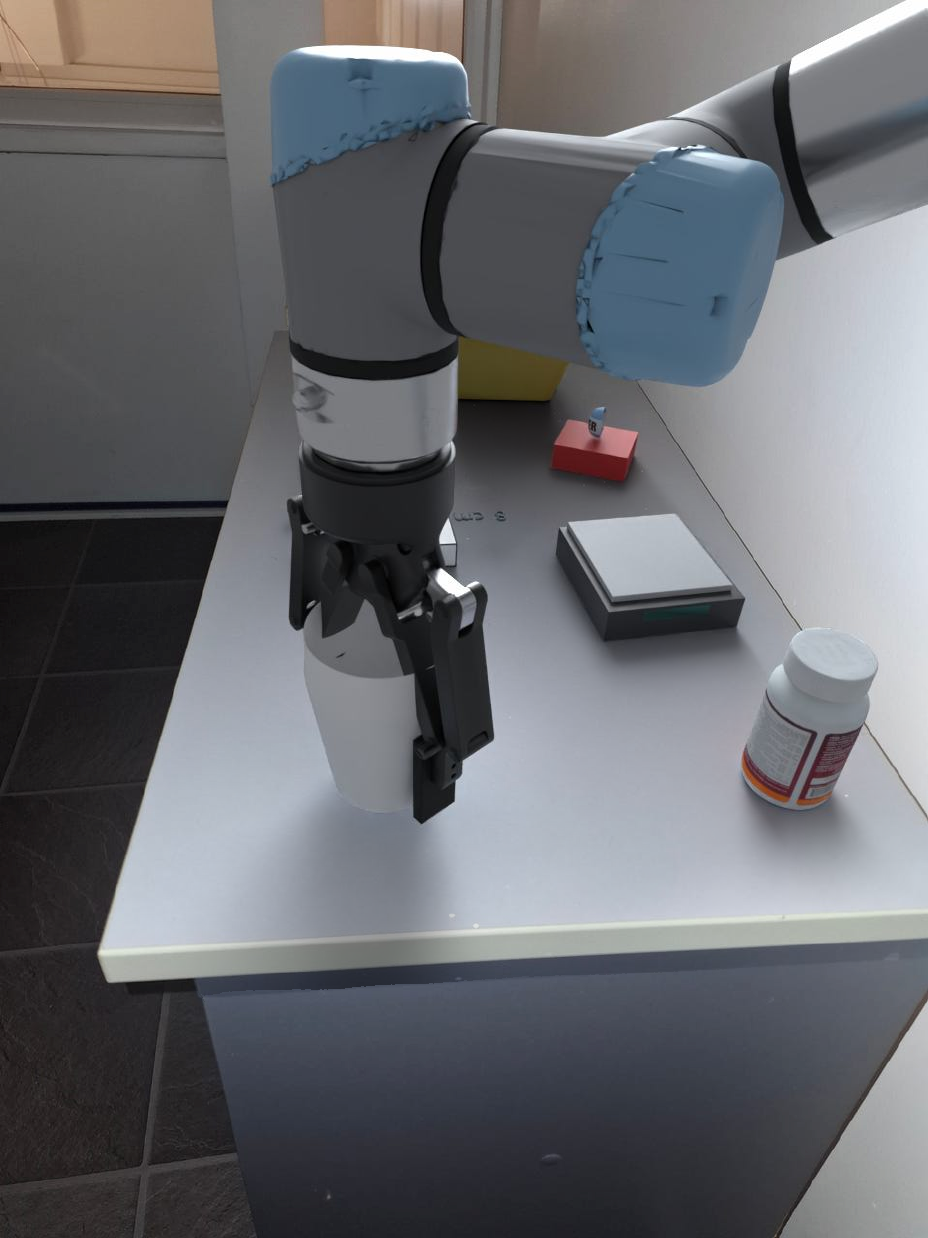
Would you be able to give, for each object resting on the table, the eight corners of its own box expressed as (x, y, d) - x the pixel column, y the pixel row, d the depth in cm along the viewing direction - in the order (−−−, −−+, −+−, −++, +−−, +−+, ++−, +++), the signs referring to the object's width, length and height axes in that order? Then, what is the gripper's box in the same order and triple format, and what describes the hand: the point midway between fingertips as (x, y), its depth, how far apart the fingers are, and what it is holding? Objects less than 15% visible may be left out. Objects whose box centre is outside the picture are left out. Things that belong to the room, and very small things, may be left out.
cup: (287, 767, 55) (268, 619, 48) (398, 706, 60) (396, 563, 53) (371, 856, 50) (364, 705, 42) (485, 781, 55) (496, 634, 47)
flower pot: (557, 356, 120) (572, 228, 110) (582, 413, 105) (602, 271, 95) (422, 353, 118) (424, 223, 108) (428, 411, 103) (431, 267, 93)
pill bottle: (827, 757, 61) (882, 632, 54) (833, 823, 56) (895, 696, 49) (738, 737, 62) (781, 613, 55) (737, 801, 57) (784, 673, 50)
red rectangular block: (551, 467, 93) (557, 413, 90) (565, 441, 99) (572, 389, 95) (623, 481, 92) (633, 427, 88) (634, 455, 97) (643, 402, 93)
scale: (737, 626, 72) (747, 592, 70) (603, 641, 70) (610, 606, 68) (674, 544, 82) (681, 511, 80) (555, 554, 80) (559, 521, 77)
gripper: (193, 386, 45) (244, 704, 58) (473, 561, 32) (455, 911, 46) (312, 355, 49) (334, 659, 62) (600, 499, 37) (549, 837, 50)
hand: (386, 766), depth 54 cm, fingers closed on cup, 9 cm apart
